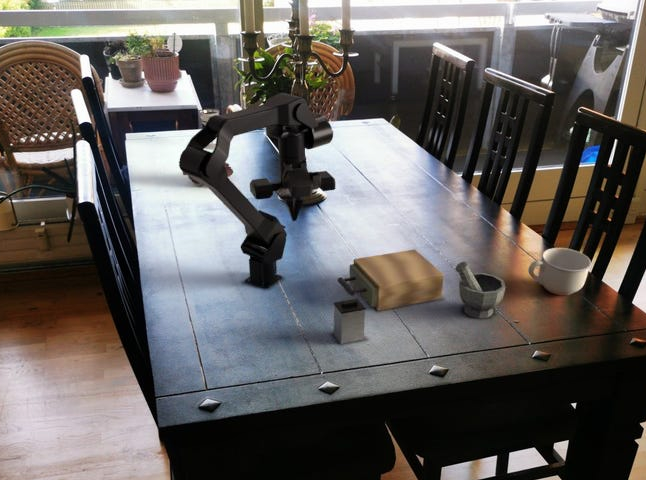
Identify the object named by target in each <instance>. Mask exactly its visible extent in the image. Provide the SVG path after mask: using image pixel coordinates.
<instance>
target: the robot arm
mask: <svg viewBox="0 0 646 480" xmlns="http://www.w3.org/2000/svg"><path fill="white" fill-rule="evenodd" d="M272 126H275V127H274V128H273V129H271V131H270V132H269V136H270V137H274V138H276V139H277V143H278V155H277V161H278V165H279V167H278V168H279V173H278V179H279V181H273V182H271V181H270V180H269V178H267V177H265V178H264V177H263V178H255V179H251V181H250V182H249V192H250V193H251V195H252V196H253V197H254V199H255V200H266V199H267V200H268V199H271V198H272V197H273V195H274V193H275V194H276V196H277V197H278V198H279V199H280V200H282V201H283V202H284V204H285V207H286V209H287V211H288V214H289V217H290V219H291V221H292V222H296V221H297V220H298V217H299V214H300V211H301V208H302V205H303V204H304V201H305V200H306V199H307V198H309V197H311V196H313V191H314V190H315V191H316V190H318V189H320V190H321V191H322V192H329V191H335V190H336V179H335V177H334V176H333V175H332V174H330V172H329V171H327V170H322V171H309V170H308V167H307V166H308V165H307V160H306V151H305V150H311V149H316V148H319V147H322V146H325V145H328V144H330V143H331V142H332V141H333V138H334V131H333V128H332V126H331V124H330V122H329V121H328V120H327V114H324V113H320V112H319V113H315V115H313V113H312V111H311V110H310V109H309V104H308V102H307V100H306V99H305V98H304V97H300V96H298V95H293V94H289V93H286V92H280V93H278V94H275V95H274V96H273V95H272V96H271V97H269V98H268V99H267V100H266V101H265V102H264V103H262V104H260V105H256V106H252V107H248V108H244V109H240V110H239V109H238V110H236V111H232V112H228V113H223V114H219V115H215V116H212V117H210V118H209V120H208V121H207V123H206V125H204V127H202V128H201V129H200V130H199V131H198V132H197V133H195V134H194V135H193V136H192V137H191V138H190V140H189V141H188V143H187V145H186V147H185V148H184V149H183V150H182V152H181V154H180V156H179V162H180V163H178V167H179V169H180V171H181V172H182V174H183V173H185V174H186V175H185V176H187V175H188V176H189V177H191V178H192V179H194V180H196V181H197V182H199V183H201V184H202V185H203V186H204V187H206V188H207V189H209V190H210V191H211V193H212V194H214V195H215V196H216V198H217V199H218V200H219V201H221V203H222V204H223V205H224V206H225V207H226V208H227V209H228V210H229V211H230V212H231V213H232V214H233V215H234V216H235V217H236V219H238V220H239V222H241V223H242V224H243V227H244V231H245V234H246V236H245V238H244V239H243V241H242V243H241V244H240V250H241V252H242V254H243V255H246V256H249V259H248V268H249V276H248V277H246V278H245V279H244V283H246V284H250V285H253V286H257V287H260V288H263V289H269V288H270V287H272V286H273V285H274V284H276V283H277V282H279V281H280V280H281V279H283V275H281V274H277V273H278V272H277V262H278V261H280V260H282V259H283V256H284V252H285V248H286V243H287V237H288V233H287V231H286V230H285V229H286V225H284V224H282V223H281V221H280V220H279V218H278V217H277V216H275V215H273V214H270V213H268V212H266V211H263V210H261V209H257V208H256V207H255V205H253V204H252V202H251V201H250V200H249V199H248V198H247V197H246V195H245V194H243V193H242V191H241V190H240V189H239V188H238V187H237V186H236V184H235V183H233V182H232V180H231V179H230V177H228V176H227V170H226V167H225V166H224V164H225V162H226V163H227V160H228V158H229V156H230V149H231V142H232V140H233V139H234V137H236V136H240V135H243V134H247V133H250V132H254V131H258V130H261V129H265V128H270V127H272ZM212 141H213V142H214V141H215V144H216V146H215V149H212V152H211V151H209V150H206V147H207V146H208V145H210V144H212ZM188 176H187V177H188ZM189 177H188V178H189Z"/></svg>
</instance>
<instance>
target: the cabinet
mask: <svg viewBox="0 0 646 480" xmlns="http://www.w3.org/2000/svg"><path fill="white" fill-rule="evenodd" d="M353 264H355V265H356V266H357V267H358V268H359V269H360V270H362V272H363V273H364V274H365V275H366V276H367V277H368V278H369V279H370V280H371V281H372V282H373V283H374V284H375V285H376V286H377V287H378V296H377V306H374V307H373V308H375V309H376V310H377V311H378V312H379V311H384V310H389V309H393V308H400V307H406V306H410V305H415V304H421V303H426V302H427V303H428V302H433V301H438V300H442V295H443V285H444V275H445V274H444V273H443V272H442V271H441V270H439V269H438V268H437V267H436V266H435V265H434V264H433V263H431V262H430V261H429V260H428V259H427V258H425V257H424V256H423V255H422V254H421V253H419V251H418V250H416V249H407V250H402V251H395V252H389V253H382V254H377V255H372V256H365V257H358V258H354V259H353Z"/></svg>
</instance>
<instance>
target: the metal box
mask: <svg viewBox="0 0 646 480" xmlns="http://www.w3.org/2000/svg"><path fill="white" fill-rule="evenodd" d="M366 309H367V307H366V306H365V305H364V303H363V302H362V301H361V300H360V299H359V298H358V297H355V298H349V299H345V300H340V301H334V302H333V336H334V337H335V338H336V339H337V341H338V342H339V344H340V345H342V344H343V345H344V344H349V343H354V342H358V341H363V340H365V319H366V315H365V314H366Z"/></svg>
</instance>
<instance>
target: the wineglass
mask: <svg viewBox="0 0 646 480" xmlns="http://www.w3.org/2000/svg"><path fill="white" fill-rule="evenodd" d="M199 113H200V115H199V120H200V122H201V124H203V125H204V126H205V125H206V123H207V121H208V120H209V118H210V117H212V116H215V115H220V110H219V109H215V108H206V109H202V110H200V111H199ZM215 146H216V143H215V144H214V141H212V142H211V143H210V144H209V145H208V146H207V147H205V149H211V150H214V149H215Z"/></svg>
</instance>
